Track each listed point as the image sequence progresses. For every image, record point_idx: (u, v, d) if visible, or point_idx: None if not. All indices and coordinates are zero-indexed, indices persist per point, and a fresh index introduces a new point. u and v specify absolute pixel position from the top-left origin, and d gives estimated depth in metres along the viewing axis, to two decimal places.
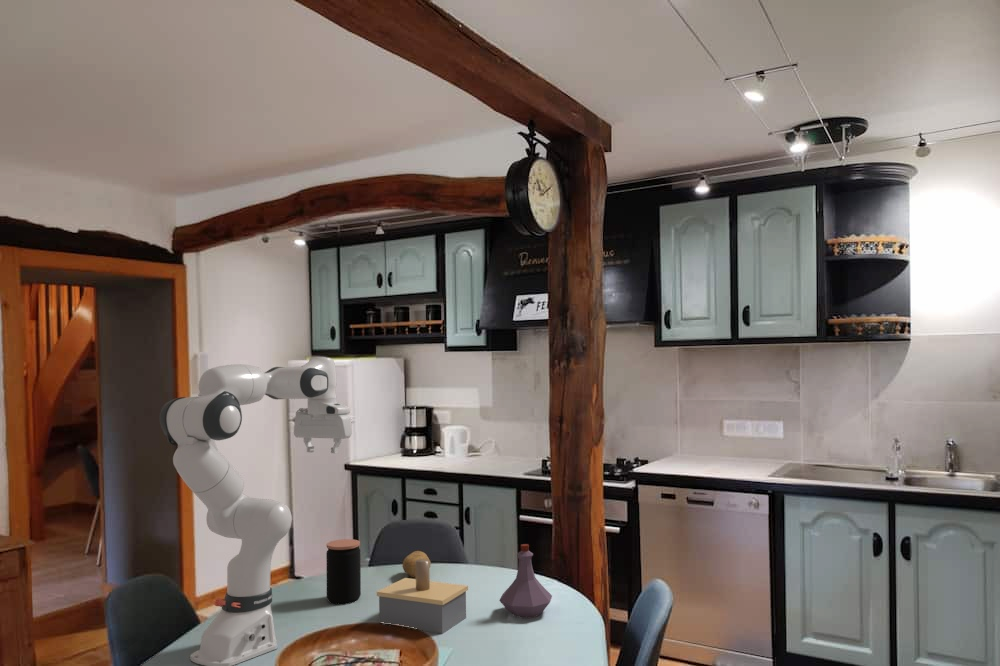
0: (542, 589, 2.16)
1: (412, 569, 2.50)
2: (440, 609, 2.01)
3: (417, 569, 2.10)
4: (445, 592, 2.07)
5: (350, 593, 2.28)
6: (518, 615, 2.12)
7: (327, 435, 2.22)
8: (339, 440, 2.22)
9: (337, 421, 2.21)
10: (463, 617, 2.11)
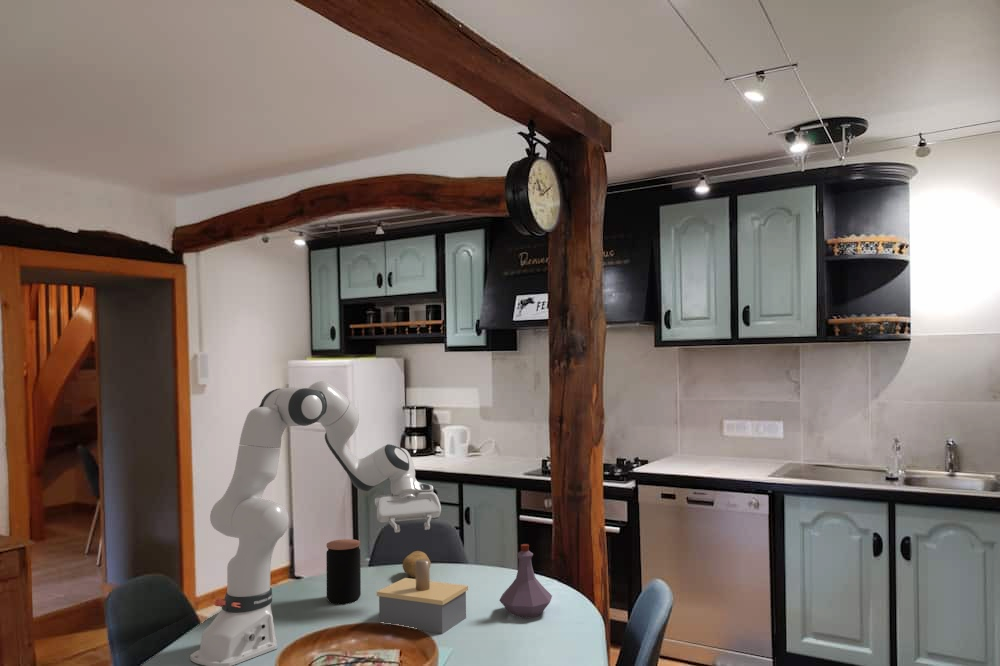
0: (542, 589, 2.16)
1: (412, 569, 2.50)
2: (440, 609, 2.01)
3: (417, 569, 2.10)
4: (445, 592, 2.07)
5: (350, 593, 2.28)
6: (518, 615, 2.12)
7: (421, 510, 2.28)
8: None
9: (430, 498, 2.32)
10: (463, 617, 2.11)
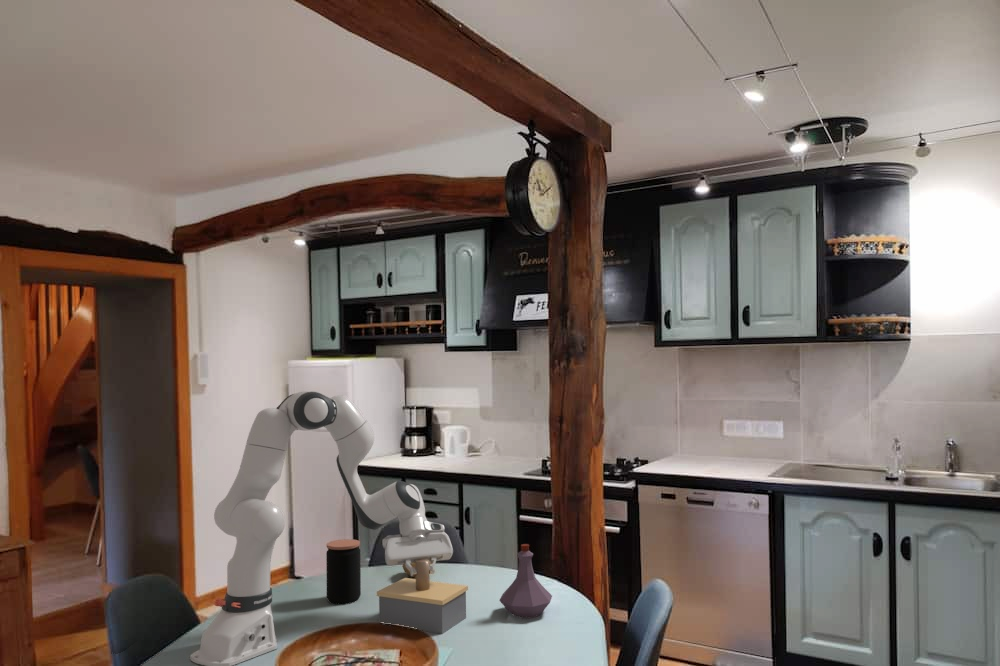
0: (542, 589, 2.16)
1: None
2: (440, 609, 2.01)
3: (417, 569, 2.10)
4: (445, 592, 2.07)
5: (350, 593, 2.28)
6: (518, 615, 2.12)
7: (432, 552, 2.15)
8: None
9: (442, 538, 2.19)
10: (463, 617, 2.11)
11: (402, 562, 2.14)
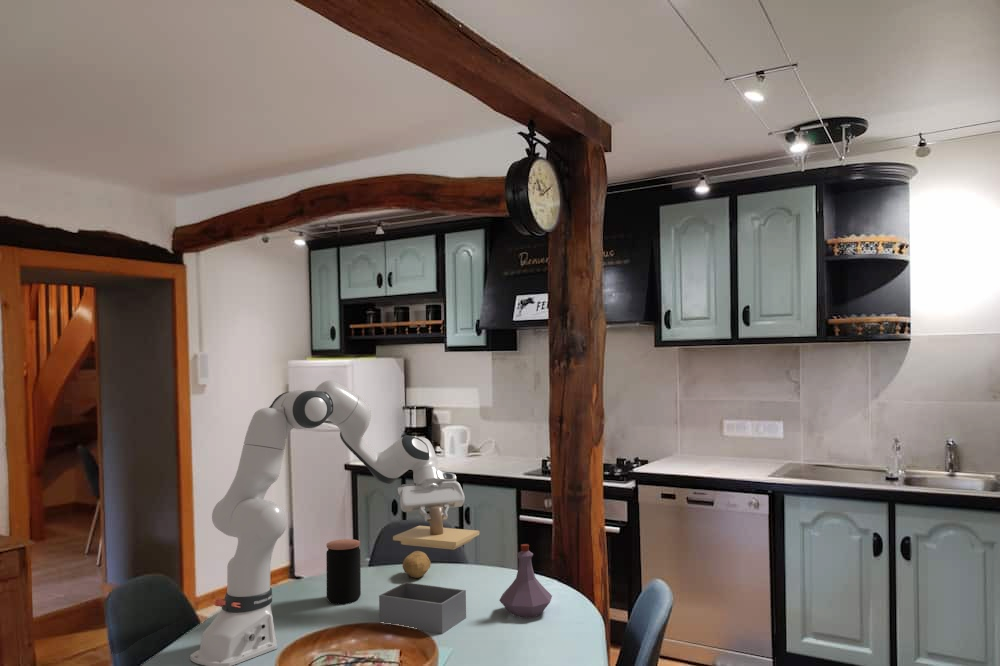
0: (542, 589, 2.16)
1: (412, 569, 2.50)
2: (440, 609, 2.01)
3: (431, 515, 2.21)
4: (457, 535, 2.19)
5: (350, 593, 2.28)
6: (518, 615, 2.12)
7: (445, 499, 2.26)
8: None
9: (454, 487, 2.30)
10: (463, 617, 2.11)
11: (417, 509, 2.25)
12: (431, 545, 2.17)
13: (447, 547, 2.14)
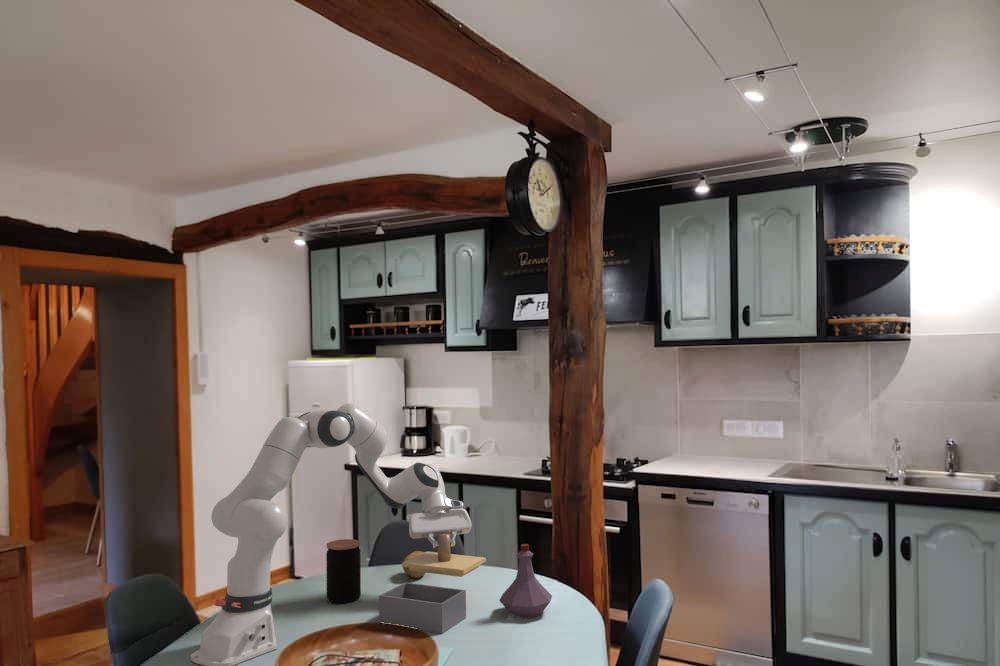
0: (542, 589, 2.16)
1: None
2: (440, 609, 2.01)
3: (439, 542, 2.28)
4: (465, 563, 2.25)
5: (350, 593, 2.28)
6: (518, 615, 2.12)
7: (452, 526, 2.33)
8: None
9: (461, 514, 2.37)
10: (463, 617, 2.11)
11: (425, 535, 2.31)
12: (439, 572, 2.23)
13: (455, 574, 2.21)
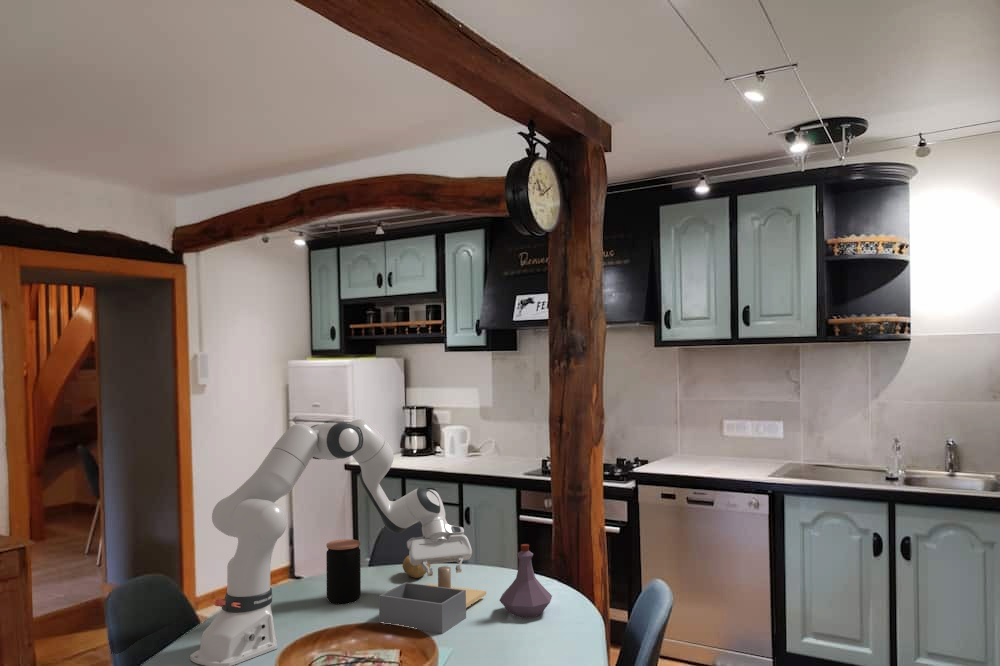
0: (542, 589, 2.16)
1: (412, 569, 2.50)
2: (440, 609, 2.01)
3: (439, 576, 2.27)
4: None
5: (350, 593, 2.28)
6: (518, 615, 2.12)
7: (452, 553, 2.32)
8: None
9: (461, 540, 2.36)
10: (463, 617, 2.11)
11: None
12: None
13: None
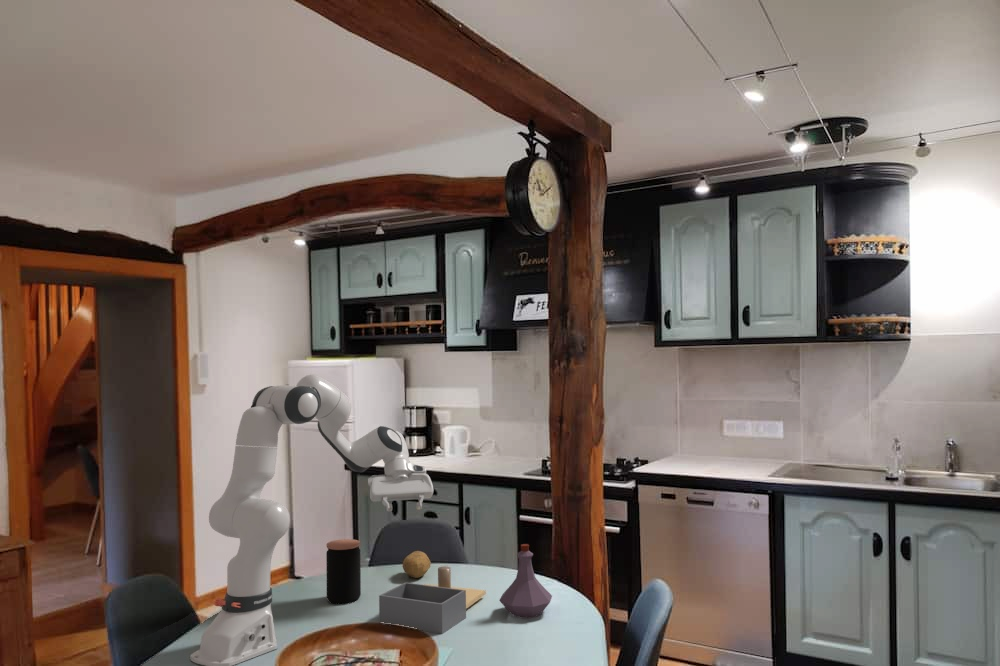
0: (542, 589, 2.16)
1: (412, 569, 2.50)
2: (440, 609, 2.01)
3: (439, 576, 2.27)
4: (466, 596, 2.25)
5: (350, 593, 2.28)
6: (518, 615, 2.12)
7: (413, 490, 2.31)
8: None
9: (423, 479, 2.35)
10: (463, 617, 2.11)
11: None
12: None
13: None
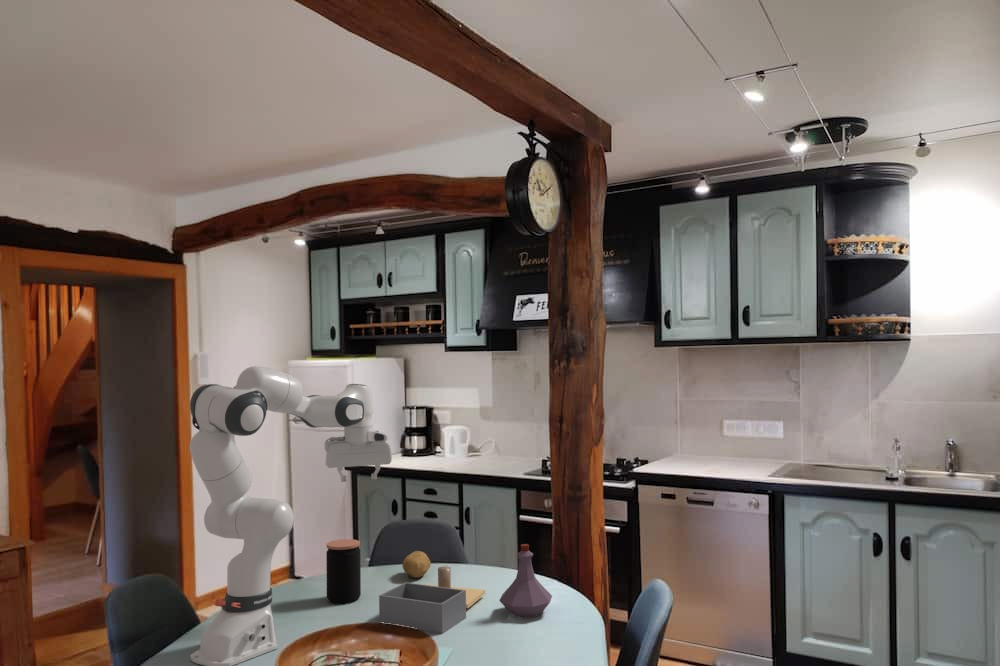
0: (542, 589, 2.16)
1: (412, 569, 2.50)
2: (440, 609, 2.01)
3: (440, 576, 2.27)
4: (466, 596, 2.25)
5: (350, 593, 2.28)
6: (518, 615, 2.12)
7: (370, 462, 2.25)
8: None
9: (383, 447, 2.26)
10: (463, 617, 2.11)
11: None
12: None
13: None
